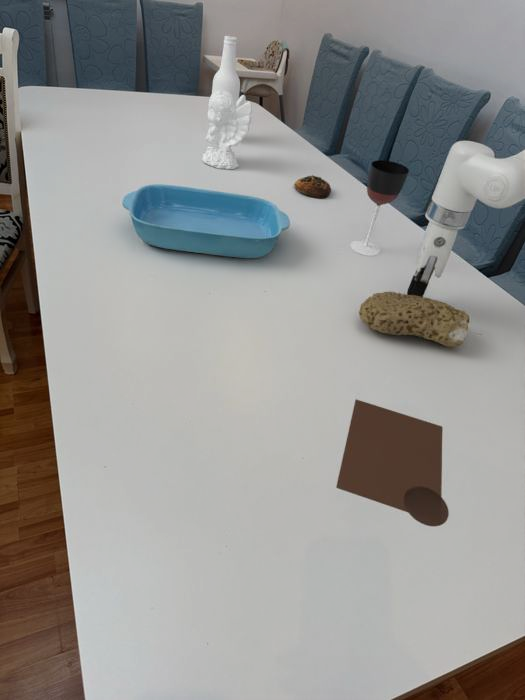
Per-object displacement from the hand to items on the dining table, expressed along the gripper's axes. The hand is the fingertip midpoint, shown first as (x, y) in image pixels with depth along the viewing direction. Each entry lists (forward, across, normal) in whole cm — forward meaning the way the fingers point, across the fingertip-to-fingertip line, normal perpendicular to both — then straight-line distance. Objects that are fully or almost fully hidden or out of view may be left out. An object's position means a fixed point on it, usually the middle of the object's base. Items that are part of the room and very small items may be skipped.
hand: (414, 295), depth 104 cm
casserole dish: (+2, +3, +48) cm, 48 cm away
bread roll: (+2, +47, +32) cm, 57 cm away
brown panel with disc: (+2, -43, 0) cm, 43 cm away
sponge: (+2, -11, 0) cm, 11 cm away
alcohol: (+2, +72, +70) cm, 101 cm away
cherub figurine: (+2, +52, +62) cm, 81 cm away
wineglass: (+2, +20, +13) cm, 24 cm away
